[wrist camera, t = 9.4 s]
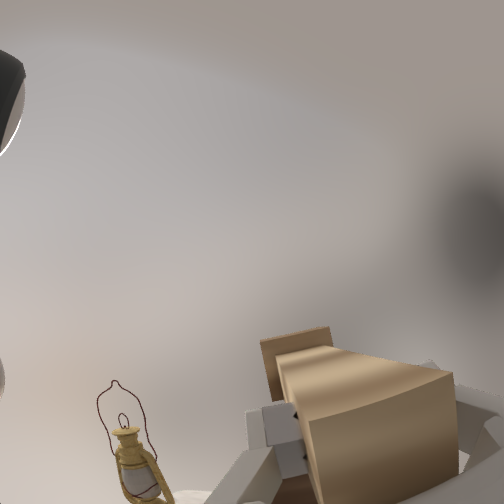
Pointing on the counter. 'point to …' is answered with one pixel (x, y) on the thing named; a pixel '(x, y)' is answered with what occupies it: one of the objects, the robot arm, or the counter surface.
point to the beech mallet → (365, 419)
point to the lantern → (138, 467)
